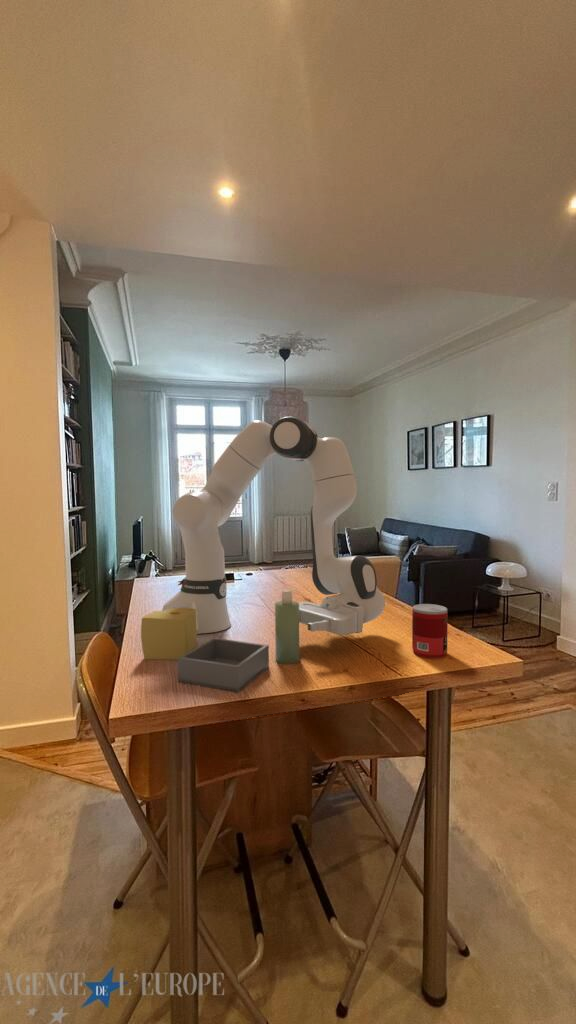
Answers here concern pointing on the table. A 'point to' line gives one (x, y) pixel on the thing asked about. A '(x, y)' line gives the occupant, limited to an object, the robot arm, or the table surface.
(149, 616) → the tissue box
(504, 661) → the table surface
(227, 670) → the box
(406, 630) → the table surface
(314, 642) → the table surface
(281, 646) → the green bottle
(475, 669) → the table surface
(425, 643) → the canned food
